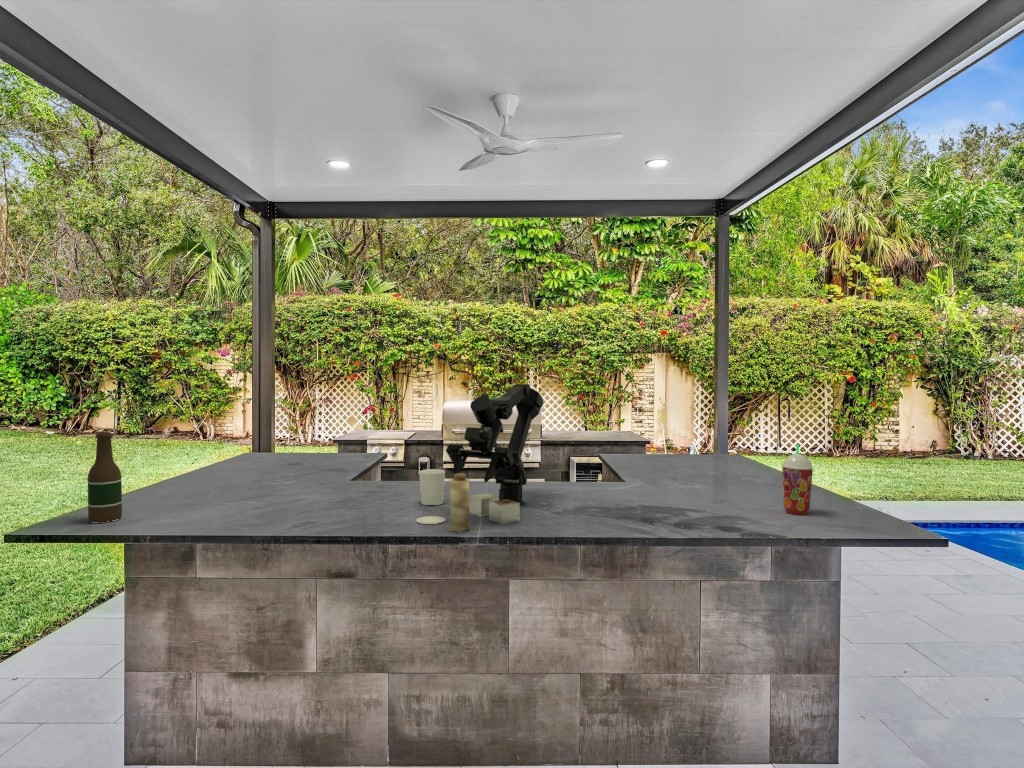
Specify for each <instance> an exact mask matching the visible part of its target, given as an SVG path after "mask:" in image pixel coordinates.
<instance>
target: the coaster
mask: <svg viewBox="0 0 1024 768" xmlns="http://www.w3.org/2000/svg"><path fill="white" fill-rule="evenodd" d="M444 521H445V522H446V518H444V517H443V516H437V515H436V516H435V515H427V516H421V517H418V518H416V519H415V523H416V522H418V523H421V524H420V525H423V524H435V525H439V524H438V523H441V524H443V523H442V522H444ZM445 522H444V523H445ZM418 523H417V524H418Z"/></svg>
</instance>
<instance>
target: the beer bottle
mask: <svg viewBox="0 0 1024 768" xmlns="http://www.w3.org/2000/svg"><path fill="white" fill-rule="evenodd" d="M112 437H113V434H112V432H107V431H106V432H105V431H104V432H98V433H96V434H95V438H96V452H95V461H94V463H93V465H92V466H91V468H90V470H89V472H88V475H87V516H88V517H87V518H88V521H89V520H90V521H92V522H107V521H112V520H116V519H119V518H121V517H122V516H123V500H122V499H123V498H122V497H123V495H122V494H123V493H122V492H123V491H122V490H123V489H122V473H121V469H120V468H119V466H118V465H117V464H116V462H115V461H114V456H113V447H112ZM121 519H122V518H121Z"/></svg>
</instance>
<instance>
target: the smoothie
mask: <svg viewBox="0 0 1024 768" xmlns="http://www.w3.org/2000/svg"><path fill="white" fill-rule="evenodd" d="M795 446H796V451H795V452H796V453H793V454H790V455H789V456H788V455H787V457H786V458H785V460H784V461H783V463H782V464H781V471H782V472H781V473H782V491H783V493H782V494H783V507H784V509H785V512H786V513H787V514H790V515H795V516H803V515H807V514H808V513H809V512H808V511H809V510H810V508H811V507H810V506H811V498H812V497H811V495H812V494H811V493H812V484H813V483H812V481H813V472H814V471H813V470H814V466H813V465H812V463H811V461H810V459H809V458H808V457H807V456H805V455H803V454H800V445H799V444H796V445H795Z"/></svg>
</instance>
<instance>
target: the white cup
mask: <svg viewBox="0 0 1024 768" xmlns="http://www.w3.org/2000/svg"><path fill="white" fill-rule="evenodd" d="M445 480H446V470H444V469H436V468H434V469H432V468H431V469H422V470H420V471H419V490H420V503H421V505H423V506H427V505H436V506H439V505H440V504H441V505H443V504H444V495H445V487H446V486H445V482H446V481H445Z"/></svg>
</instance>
